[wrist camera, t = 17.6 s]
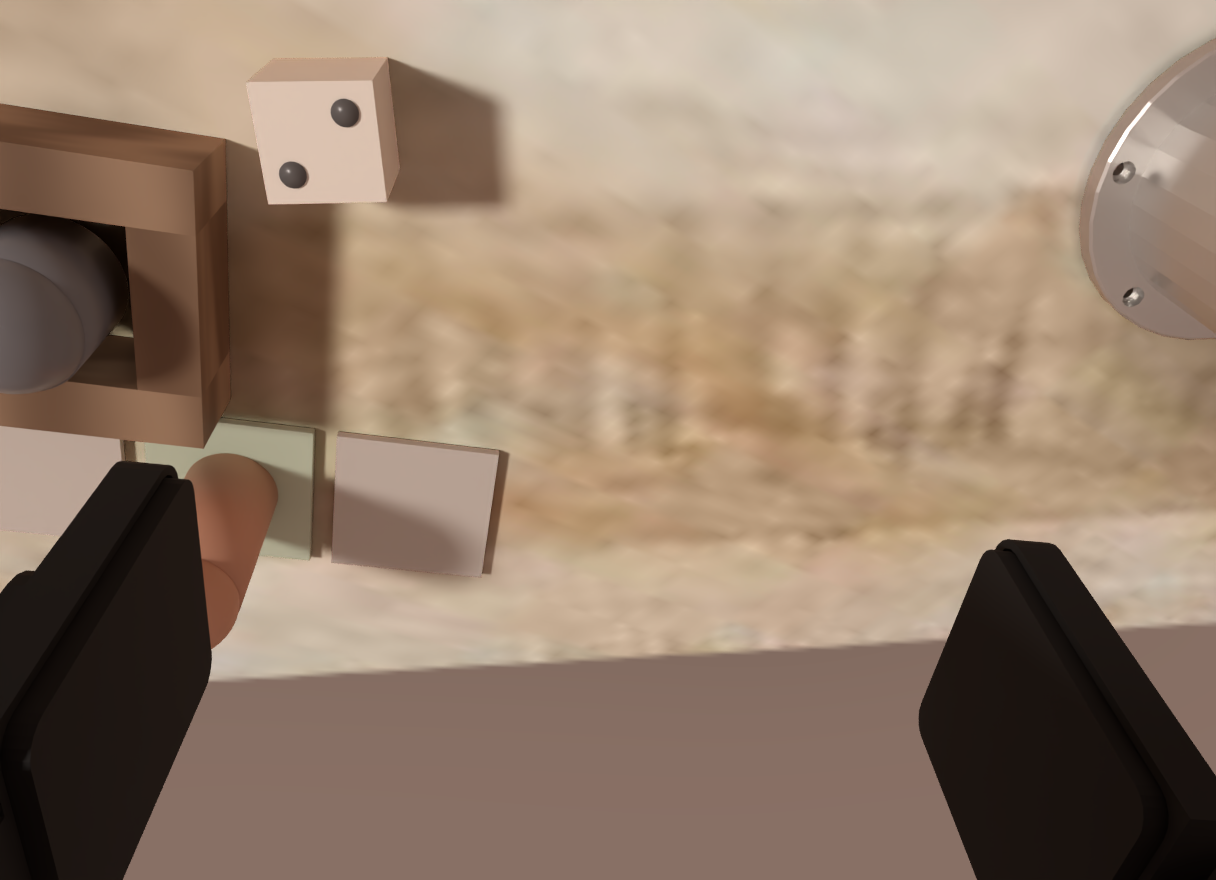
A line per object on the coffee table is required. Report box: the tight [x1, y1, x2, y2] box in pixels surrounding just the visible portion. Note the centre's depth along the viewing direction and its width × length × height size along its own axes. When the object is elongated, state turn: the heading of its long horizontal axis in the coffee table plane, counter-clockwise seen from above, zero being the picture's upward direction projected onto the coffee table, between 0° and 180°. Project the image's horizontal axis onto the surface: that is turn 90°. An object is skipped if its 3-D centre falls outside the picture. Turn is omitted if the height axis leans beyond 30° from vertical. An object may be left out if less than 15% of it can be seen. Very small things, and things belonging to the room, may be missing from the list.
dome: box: [0, 214, 128, 394], centre depth 34 cm, size 5×5×6 cm
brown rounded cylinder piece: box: [184, 453, 278, 649], centre depth 39 cm, size 4×4×10 cm
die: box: [246, 57, 400, 204], centre depth 34 cm, size 4×4×4 cm
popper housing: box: [0, 104, 231, 449], centre depth 36 cm, size 11×11×4 cm
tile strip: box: [0, 418, 499, 577], centre depth 44 cm, size 23×7×1 cm, turn 80°
